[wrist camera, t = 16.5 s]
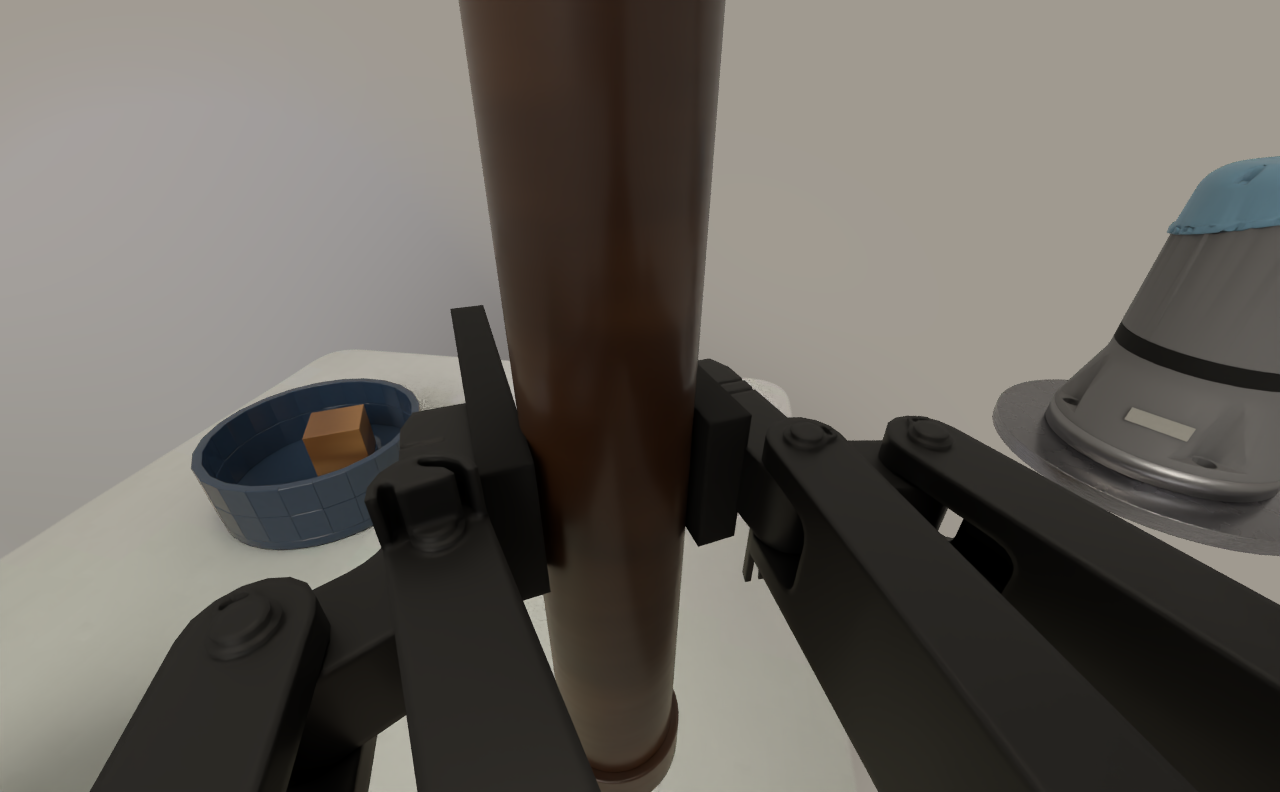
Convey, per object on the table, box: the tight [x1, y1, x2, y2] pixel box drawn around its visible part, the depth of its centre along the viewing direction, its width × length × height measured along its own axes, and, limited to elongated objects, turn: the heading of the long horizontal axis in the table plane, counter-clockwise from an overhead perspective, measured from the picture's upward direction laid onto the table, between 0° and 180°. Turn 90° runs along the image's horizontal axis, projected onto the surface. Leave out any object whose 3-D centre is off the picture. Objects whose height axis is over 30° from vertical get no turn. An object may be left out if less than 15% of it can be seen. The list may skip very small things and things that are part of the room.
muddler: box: [459, 0, 725, 792], centre depth 9 cm, size 3×3×16 cm
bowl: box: [191, 378, 421, 550], centre depth 40 cm, size 15×15×6 cm
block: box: [302, 404, 376, 476], centre depth 42 cm, size 4×4×4 cm
